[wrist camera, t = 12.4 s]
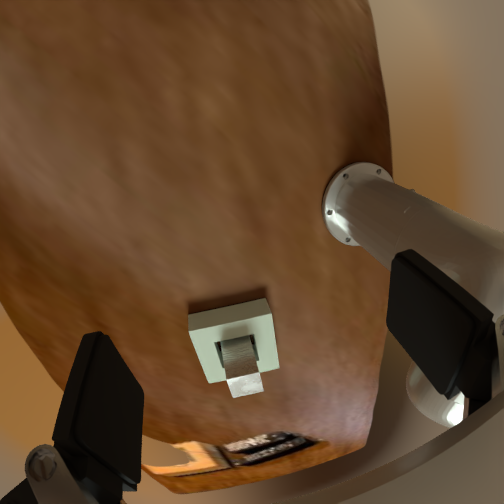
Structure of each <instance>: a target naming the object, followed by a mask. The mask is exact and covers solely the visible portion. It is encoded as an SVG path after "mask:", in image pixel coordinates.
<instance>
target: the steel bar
mask: <svg viewBox="0 0 504 504" xmlns="http://www.w3.org/2000/svg"><path fill="white" fill-rule="evenodd" d="M220 342H221V349H222V355H223V362H224V368H225V374H226V380H227V383H228V385H229V388H230V391H231V394H232V396H233V398H235V397H240V396H245V395H249V394H254V393H258V392H262V391H263V386H262V382H261V378H260V373H259V369H258V366H257V362H256V359H255V355H254V351H253V348H252V344H251V340H250V336H249V335H246V336H242V337H237V338H233V339H228V340H223V341H220Z"/></svg>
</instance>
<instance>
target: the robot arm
mask: <svg viewBox="0 0 504 504" xmlns="http://www.w3.org/2000/svg"><path fill="white" fill-rule="evenodd" d="M343 175H344V176H343ZM328 210H329V211H328ZM327 211H328V212H327ZM322 214H323V219H324V222H325V225H326V227H327V229H328V230H329V232H330V233H331V234H332V235H333V236H334V237H335V238H336V239H337V240H339V241H340V242H342V243H344V244H346V245H352V246H360V245H361V246H362V247H363V248H364V249H365V250H366V251H368V252H369V253H370V254H371V255H372V256H373V257H374V258H376V259H377V260H378V261H379V262H380V263H381V264H382V265H383V266H385V267H386V268H387V269H388V270H389V271H390V272H391V274H390V288H389V299H388V309H387V318H386V323H387V327H388V329H389V331H390V332H391V333H392V334H393V336H394V337H395V338H396V339H397V340H398V342H399V343H400V344H401V345H402V347H403V348H404V349H405V350H406V352H407V353H408V354H409V356H410V357H411V358H412V359H413V362H412V364H411V366H410V368H409V371H408V374H407V379H406V388H407V392H408V395H409V398H410V400H411V401H412V403H413V404H414V405H415V407H416V408H417V409H418V410H419V411H420V412H421V413H422V414H424V415H425V416H427V417H428V418H430V419H431V420H433V421H435V422H437V423H439V424H441V425H444V426H446V427H449V428H450V429H449V430H447V431H446V432H444V433H442V434H441V435H439V436H438V437H436V438H434V439H433V440H431V441H429V442H428V443H426V444H424V445H423V446H420V447H419V448H417V449H415V450H413V451H411V452H409V453H408V454H406V455H404V456H402V457H400V458H398V459H396V460H394V461H392V462H390V463H388V464H385V465H383V466H381V467H379V468H377V469H375V470H372V471H370V472H368V473H365V474H363V475H361V476H358V477H356V478H353V479H351V480H348V481H345V482H343V483H340V484H337V485H335V486H332V487H329V488H326V489H323V490H320V491H317V492H314V493H310V494H307V495H304V496H300V497H297V498H293V499H289V500H285V501H281V502H277V503H273V504H504V232H502V231H499V230H496V229H493V228H490V227H488V226H486V225H483V224H481V223H478V222H476V221H474V220H472V219H469V218H467V217H465V216H463V215H461V214H459V213H456V212H455V211H453V210H451V209H449V208H447V207H445V206H443V205H440V204H439V203H436V202H434V201H432V200H430V199H428V198H426V197H424V196H422V195H419V194H417V193H416V192H415V190H414V189H411V190H408V189H406V188H403V187H401V186H399V185H397V184H395V183H394V181H393V179H392V177H391V176H390V175H389V173H388V172H387V171H386V170H385V169H383V168H382V167H380V166H378V165H376V164H373V163H369V162H357V163H353V164H350V165H348V166H346V167H344V168H343V169H341V170H340V171H339V172H338V173H337V174H336V175H335V176H334V177H333V178H332V180H331V181H330V183H329V185H328V186H327V188H326V191H325V194H324V197H323V203H322ZM143 408H144V392H143V389H142V387H141V386H140V384H139V383H138V381H137V380H136V378H135V377H134V375H133V374H132V372H131V371H130V369H129V368H128V366H127V365H126V363H125V362H124V360H123V359H122V357H121V355H120V354H119V352H118V351H117V349H116V347H115V346H114V344H113V342H112V341H111V339H110V337H109V336H108V335H104V334H103V333H102V332H100V331H98V332H93V333H88V334H85V335H84V336H83V338H82V340H81V343H80V346H79V348H78V351H77V354H76V357H75V360H74V363H73V366H72V369H71V372H70V375H69V378H68V381H67V384H66V388H65V391H64V394H63V398H62V401H61V405H60V408H59V412H58V416H57V419H56V424H55V427H54V432H53V436H52V440H53V441H54V446H51V445H47V444H44V445H39V446H37V447H36V448H34V449H33V450H32V451H31V452H30V453H29V455H28V456H27V458H26V462H25V473H26V477H27V478H26V479H24V480H23V481H22V482H21V483H20V484H19V485H17V486H16V487H15V488H14V489H13V490H11V491H10V492H9V493H8V494H7V495H5V496H4V497H3V498H2V499H1V500H0V504H127V503H126V502H125V501H124V500H123V499H122V493H123V491H137V484H138V483H140V481H141V447H142V424H143Z"/></svg>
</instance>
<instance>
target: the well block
mask: <svg viewBox="0 0 504 504" xmlns="http://www.w3.org/2000/svg"><path fill="white" fill-rule="evenodd" d="M188 324H189V334H190V337H191V339H192V342H193V345H194V347H195V350H196V352H197V355H198V358H199V360H200V363H201V365H202V368H203V370H204V373H205V375H206V378H207V380H208V382H209V383H213V382H219V381H224V380H226V374H225V368H224V362H223V355H222V351H221V352H220V350H219V347H218V344H217V342H218V341H223V340H228V339H233V338H237V337H242V336H246V335H250V334H253V338H254V343H255V344H253V345H252V348H253V351H254V355H255V359H256V362H257V366H258V369H259V373H261V372H265V371H269V370H273V369H277V368H279V362H278V355H277V348H276V340H275V333H274V326H273V319H272V313H271V310H270V308H269V305H268V303H267V300H266V298H263V299H259V300H254V301H250V302H245V303H241V304H236V305H232V306H227V307H223V308H218V309H213V310H209V311H204V312H199V313H194V314H189V315H188Z"/></svg>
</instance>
